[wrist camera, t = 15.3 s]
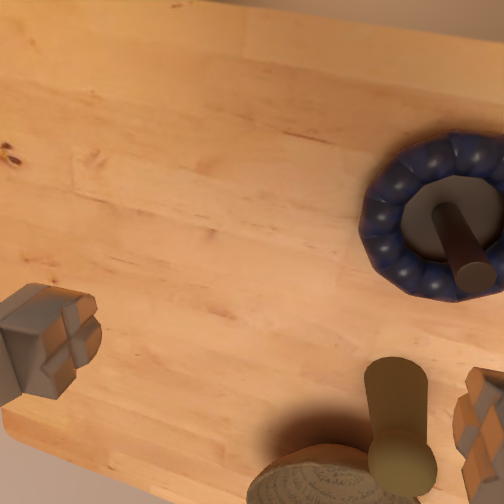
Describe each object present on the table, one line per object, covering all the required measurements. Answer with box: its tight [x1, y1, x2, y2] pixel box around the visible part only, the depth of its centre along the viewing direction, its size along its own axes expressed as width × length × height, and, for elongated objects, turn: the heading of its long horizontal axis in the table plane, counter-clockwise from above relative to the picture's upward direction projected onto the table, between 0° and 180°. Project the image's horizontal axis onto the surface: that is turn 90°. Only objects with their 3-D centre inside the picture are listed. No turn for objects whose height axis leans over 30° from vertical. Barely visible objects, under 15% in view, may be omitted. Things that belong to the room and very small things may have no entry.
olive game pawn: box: [364, 357, 437, 497], centre depth 34 cm, size 6×6×11 cm
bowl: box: [246, 444, 421, 504], centre depth 42 cm, size 18×18×8 cm
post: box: [400, 175, 504, 293], centre depth 26 cm, size 8×8×11 cm
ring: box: [358, 129, 504, 303], centre depth 28 cm, size 13×13×3 cm
